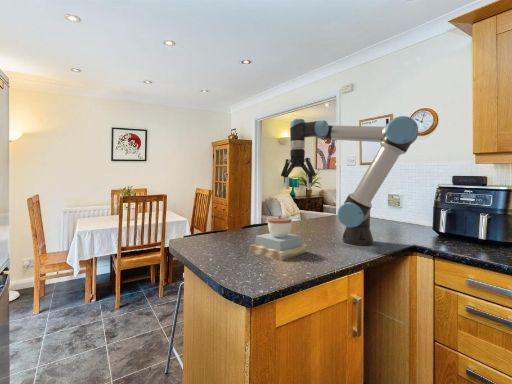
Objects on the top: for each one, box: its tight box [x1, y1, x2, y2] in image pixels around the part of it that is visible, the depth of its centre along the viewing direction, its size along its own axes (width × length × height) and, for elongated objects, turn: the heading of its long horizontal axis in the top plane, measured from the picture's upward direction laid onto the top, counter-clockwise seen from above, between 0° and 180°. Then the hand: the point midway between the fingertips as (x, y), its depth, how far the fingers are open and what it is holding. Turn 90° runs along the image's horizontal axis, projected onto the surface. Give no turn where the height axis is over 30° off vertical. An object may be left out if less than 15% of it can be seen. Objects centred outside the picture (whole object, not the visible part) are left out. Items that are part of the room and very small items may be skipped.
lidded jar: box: [267, 214, 292, 237], centre depth 124 cm, size 11×11×9 cm
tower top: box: [255, 232, 303, 251], centre depth 124 cm, size 15×15×4 cm
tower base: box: [249, 243, 307, 261], centre depth 124 cm, size 18×18×4 cm
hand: (297, 189), depth 146 cm, fingers open, 13 cm apart
